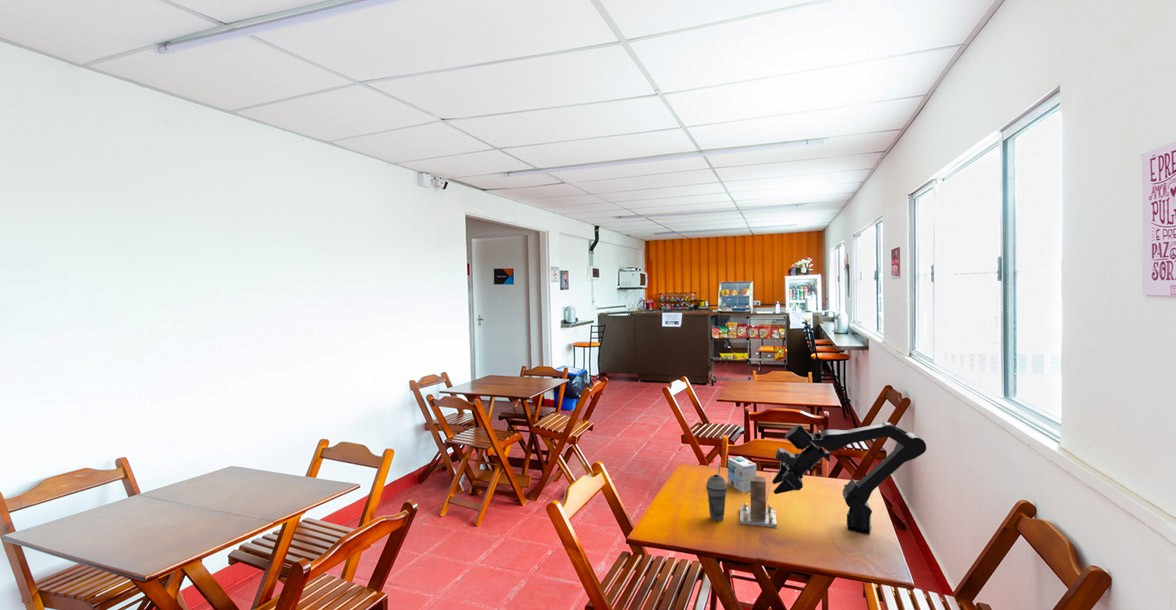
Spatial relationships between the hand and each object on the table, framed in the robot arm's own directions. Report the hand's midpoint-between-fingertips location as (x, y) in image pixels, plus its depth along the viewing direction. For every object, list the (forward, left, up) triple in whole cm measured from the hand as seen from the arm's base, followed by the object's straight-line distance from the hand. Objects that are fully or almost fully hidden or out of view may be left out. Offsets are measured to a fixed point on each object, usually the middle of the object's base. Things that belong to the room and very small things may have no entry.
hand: (773, 487), depth 186 cm
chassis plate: (+5, +2, -11) cm, 13 cm away
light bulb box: (+19, -23, -12) cm, 32 cm away
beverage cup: (+17, +10, -12) cm, 23 cm away
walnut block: (+5, +2, -10) cm, 12 cm away
